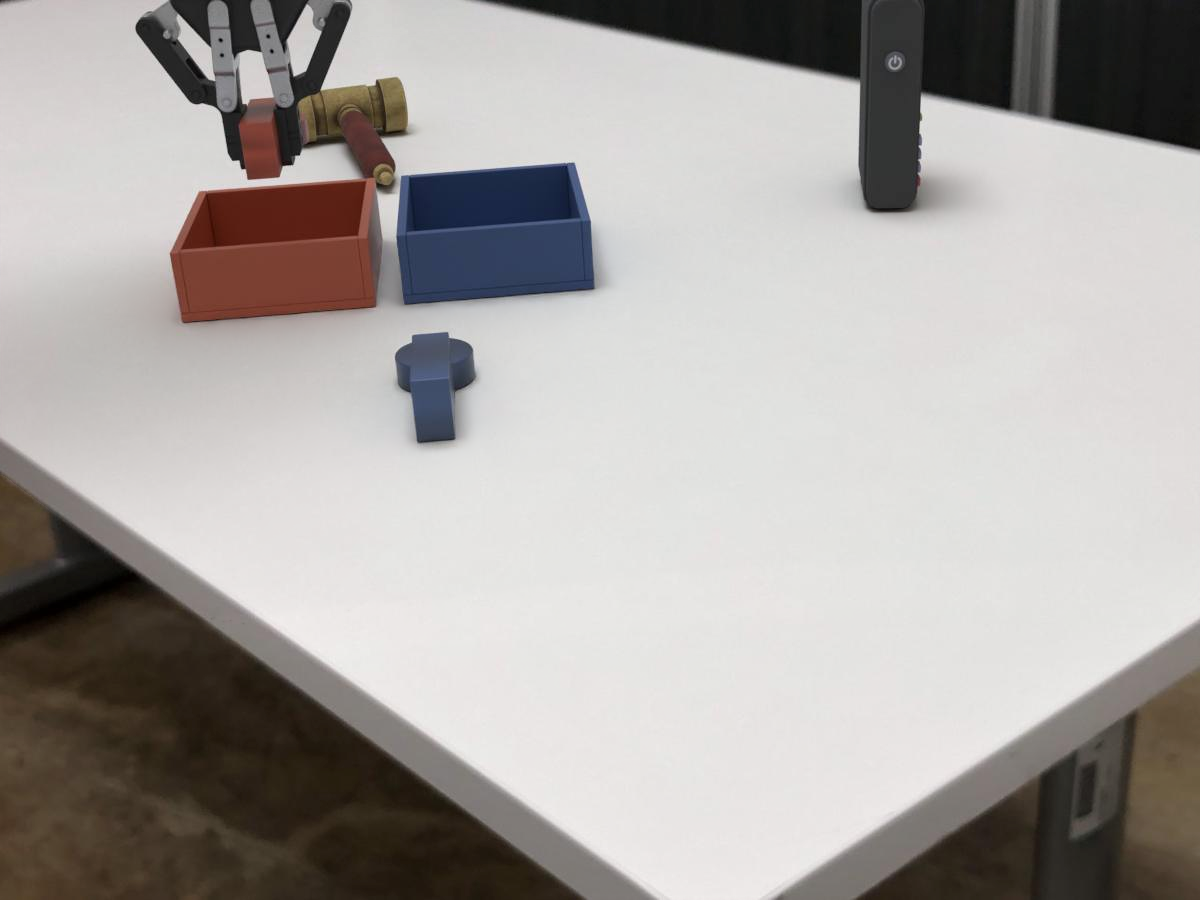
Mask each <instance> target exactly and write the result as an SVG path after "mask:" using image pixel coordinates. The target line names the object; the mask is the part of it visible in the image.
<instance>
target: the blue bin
mask: <svg viewBox="0 0 1200 900" xmlns="http://www.w3.org/2000/svg"><path fill="white" fill-rule="evenodd" d="M398 198H399V200H398V209H397V221H396V222H397V223H396V235H395V237H396V247H397V255H398V262H399V271H400V280H401V288H402V289H401V290H402V297H403V298H402V299H403V304H404V305H408V304H409V305H410V304H421V303H422V304H423V303H433V302H435V303H436V302H446V301H458V300H469V299H483V298H494V297H507V296H519V295H520V296H521V295H531V294H532V295H533V294H543V293H555V292H567V291H581V290H593V289H595V287H596V286H595V272H594V271H595V270H594V269H595V268H594V254H593V238H592V237H593V235H592V220H591V217H590V213H589V210H588V205H587V202H586V198H585V195H584V190H583V187H582V184H581V181H580V177H579V173H578V170H577V166H576V162H573V161H572V162H561V163H560V162H559V163H558V162H557V163H548V164H546V163H545V164H535V165H533V164H532V165H520V166H509V167H506V166H505V167H495V168H481V169H469V170H456V171H455V170H454V171H444V172H428V173H419V174H418V173H417V174H416V173H415V174H410V175H409V174H404V175H401V176H400V185H399V197H398Z"/></svg>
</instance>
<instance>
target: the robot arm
mask: <svg viewBox="0 0 1200 900" xmlns="http://www.w3.org/2000/svg"><path fill="white" fill-rule="evenodd" d="M307 5H308V6H309V7H310V8H311V10H312V13H313V15H312V25H313V27H314V28H315V29H316V30H318V31H320V32H321V33H320V35H319V37H318V40H317V43H316V45H315V47H314V50H313V53H312V55H311V57H310V59H309V63H308V65H307V68H306V70H304V71H303V72H301V73H299V74H296V75H295V74H294V69H293V64H292V58H291V52H290V46H289V43H288V39H289V38H290V36H291V34H292V33H293V30H294V29H295V27H296V25H297V23H298V21H299V20H300V17H301V15H302V14H303V12H304V10H305V8H306V7H307ZM352 11H353V3H352V1H351V0H167V1H165V2H164V3H163V4H161V5H160V6H158V7H157V8H155V9H154V10H152V11H150V10H149V11H146V12H145V13H144V14H142V15H141V17H139V19H138V20H137V22H136V23H135V27H134V28H135V29H134V30H135V32H136V34H137V36H138V38H140V40H141V41H142V42H143V44H144V45H145V46H146V48H147V49H148V50H149V52H150V53H151V54H152V56H154V58H155V59H156V60H157V61H158V63H159V64H160V65H161V67H162V68H163V69H164V71H165V72H166V73H167V75H168V76H169V77H170V79H171V80H172V81H173V82H174V84H175V86H176V87H177V88H178V89H179V90H180V91H181V93H182V94H183V96H185V98H186V99H187V101H188V102H189V103H191V104H193V105H198V106H199V105H201V104H202V105H203V104H204V105H207V106H211V107H213V108H215V109H216V110H217V111H218V112H219V113H220V116H221V122H222V127H223V134H224V139H225V144H226V151H227V155H228V157H229V158H230V160H231V161H232V162H239V167H240V169H241V171H242V170H246V168H245V162H244V156H243V150H242V144H241V137H240V131H239V123H240V121H241V119H242V116H243V115H244V113H245V111H246V109H247V105H248V103H243V97H242V96H243V95H242V84H241V83H242V82H241V70H240V69H241V68H240V63H241V56H240V54H241V53H243V52H246V51H252V52H258V53H261V54H262V55H261V56H262V59H263V63H264V68H265V71H266V72H267V75H268V79H269V83H270V87H271V92H272V96H273V97H274V100H275V103H276V104H275V107H274V109H273V113H274V114H275V119H276V125H277V132H278V138H279V145H280V152H281V158H282V164H283V167H289V166H291V167H292V166H294V165H295V162H296V157H299V156H301V154H302V150H303V147H304V145H303V143H304V139H303V133H302V126H301V119H300V112H299V104H298V103H299V101H300V100H302V99H303V98H306V97H308V96H310V95H315V94H317V93H319V92H320V90H322V88H323V85H324V82H325V80H326V77H327V76H328V73H329V71H330V67H331V65H332V63H333V61H334V58H335V55H336V52H337V50H338V48H339V45H340V43H341V41H342V38H343V35H344V33H345V31H346V28H347V25H348V23H349V21H350V18H351V14H352ZM178 16H180V17H181V19H182V20H184V21H185V23H186V24H187V25H188V26H189V27H190V28H191V30H193V32H195V33H196V34H197V36H198V37H199V38H200V39H202V41H204V43H205V44H206V45H207V46H208V47H209V48H210V49H211V62H212V73H213V75H214V80H212V79H209V78H208V76H207V75H206V74H205V73H204V71H203V70H202V69H201V67H200V66H199V64H197V62H196V61H195V60H194V58H193V56H192V55H190V53H189V52H188V50H187V49H186V48H185V47H184V46H183V44H182V42H181V41H180V40H179V39H178V38H179V37H180V36H181V32H182V29H181V25H180V24H179V22H178V21H179V20H178Z"/></svg>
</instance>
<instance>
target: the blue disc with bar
mask: <svg viewBox="0 0 1200 900" xmlns="http://www.w3.org/2000/svg"><path fill="white" fill-rule="evenodd" d="M394 361H395V370H396V379H397V384H398V385H399V387H400V388H402V390H403V389H404V390H405V391H407V392H410V393H411V402H412V411H413V420H414V429H415V436H416V442H417V443H419V442H432V441H444V440H454V439H456V410H455V409H456V408H455V405H456V403H455V399H456V398H455V391H456V390H459V389H461V388H463V387H465V386H467V385H469V384H470V383H472V382H473V381H474V379H475V377H476V368H475V367H476V366H475V357H474V349H473V346H472V345H471V344H470V343H469V342H467V341H465V340H462V339H459V338H454V337H450V334H449V331H442V332H429V333H417V334H412V335H411V342H409V343H407V344H405V345H403V346H401V347H400V348H399V349H398V350H397V351H396V352H395V354H394Z"/></svg>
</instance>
